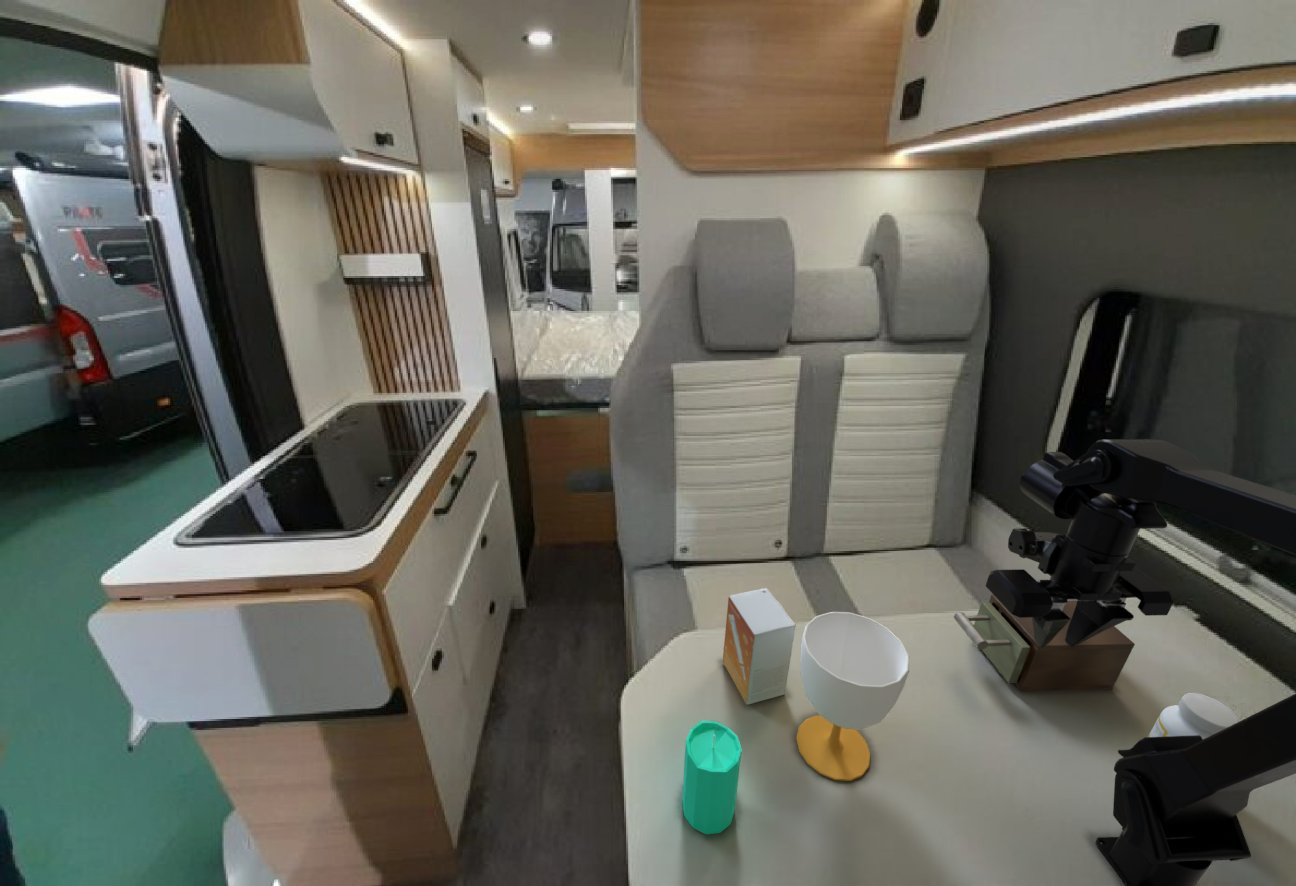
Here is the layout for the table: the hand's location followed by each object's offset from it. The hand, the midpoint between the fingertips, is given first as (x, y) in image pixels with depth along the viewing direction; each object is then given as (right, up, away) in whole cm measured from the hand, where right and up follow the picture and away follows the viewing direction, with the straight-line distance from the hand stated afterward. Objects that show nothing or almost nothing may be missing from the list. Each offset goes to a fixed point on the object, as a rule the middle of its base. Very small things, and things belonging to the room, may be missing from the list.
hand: (1054, 644), depth 68 cm
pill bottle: (+12, -16, -2) cm, 20 cm away
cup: (-28, -14, +1) cm, 31 cm away
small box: (-36, -9, +11) cm, 39 cm away
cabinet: (+9, -8, +14) cm, 19 cm away
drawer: (+4, -7, +14) cm, 16 cm away
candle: (-44, -17, -6) cm, 48 cm away
